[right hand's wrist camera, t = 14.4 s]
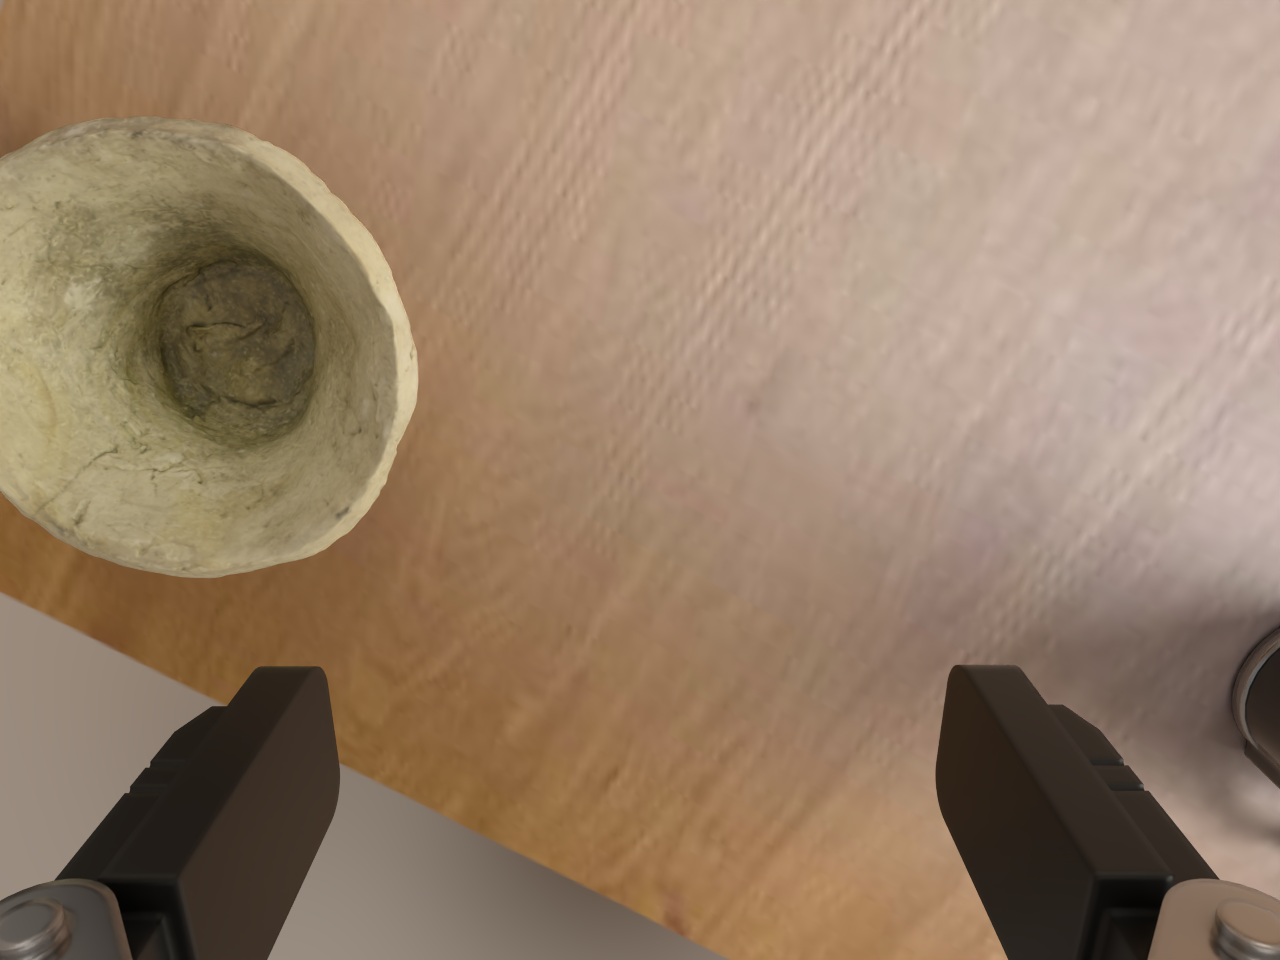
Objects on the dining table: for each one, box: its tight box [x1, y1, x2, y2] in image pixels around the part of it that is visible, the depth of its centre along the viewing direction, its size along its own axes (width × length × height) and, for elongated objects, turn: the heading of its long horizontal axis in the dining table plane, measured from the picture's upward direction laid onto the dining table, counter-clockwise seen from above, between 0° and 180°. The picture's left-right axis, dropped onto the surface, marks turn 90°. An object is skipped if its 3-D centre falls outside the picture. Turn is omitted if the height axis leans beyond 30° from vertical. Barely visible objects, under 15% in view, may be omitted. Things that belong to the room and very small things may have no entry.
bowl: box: [0, 116, 418, 578], centre depth 34 cm, size 14×18×15 cm
